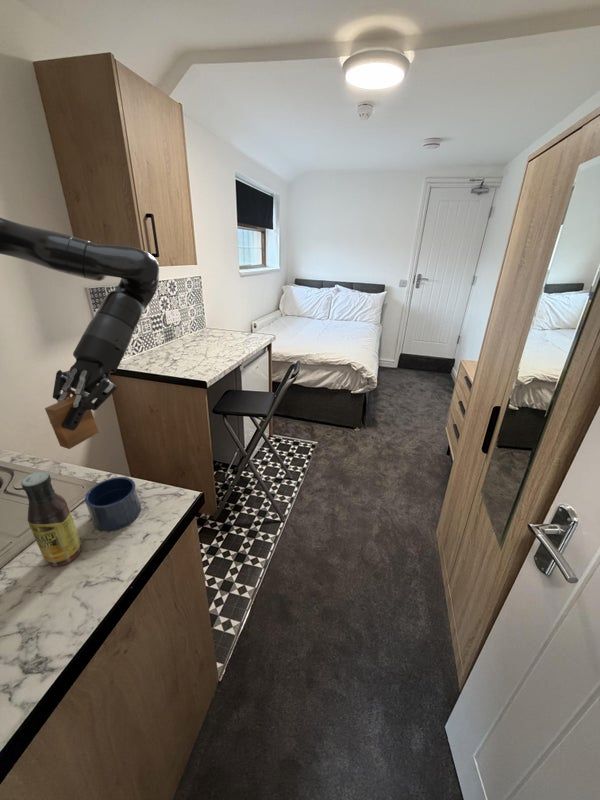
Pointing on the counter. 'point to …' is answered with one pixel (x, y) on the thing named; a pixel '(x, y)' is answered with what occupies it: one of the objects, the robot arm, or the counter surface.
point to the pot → (113, 503)
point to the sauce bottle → (50, 520)
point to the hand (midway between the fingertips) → (62, 426)
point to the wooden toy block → (67, 436)
